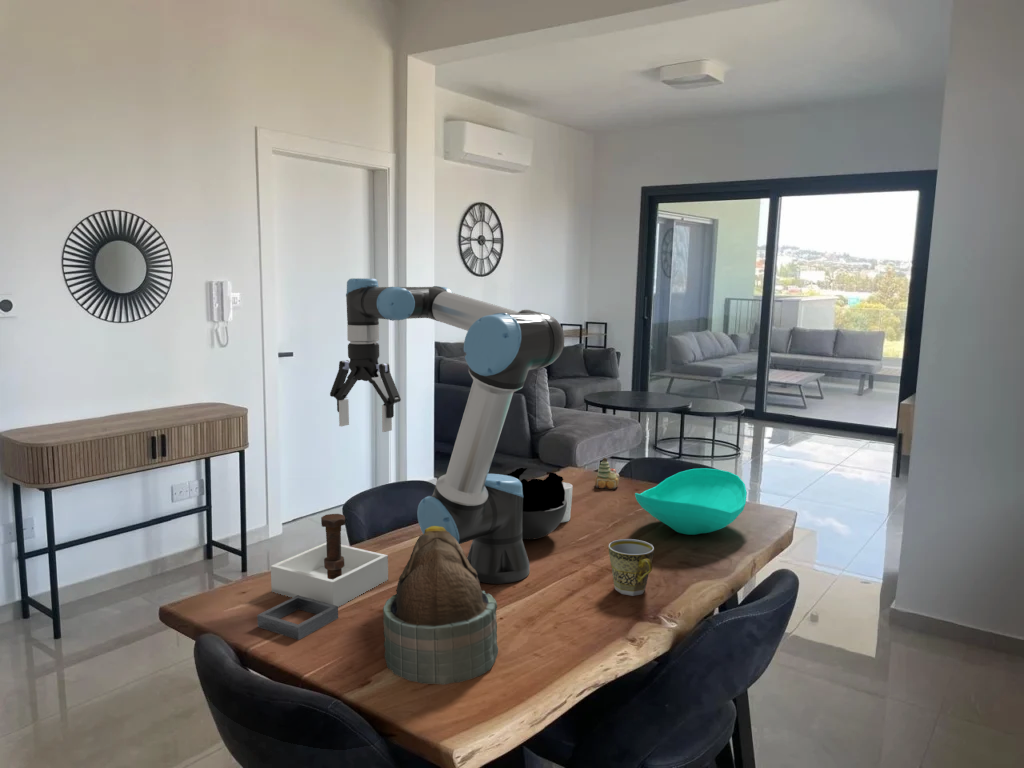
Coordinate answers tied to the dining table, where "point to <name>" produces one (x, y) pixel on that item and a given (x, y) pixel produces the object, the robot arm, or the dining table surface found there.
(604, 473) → the ornament
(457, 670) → the decorative pot
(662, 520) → the table top decor
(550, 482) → the bowl of black rocks
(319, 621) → the socket collar
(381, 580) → the bin
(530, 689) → the dining table surface
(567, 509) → the white cup
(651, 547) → the ceramic cup
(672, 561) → the dining table surface
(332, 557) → the bolt
